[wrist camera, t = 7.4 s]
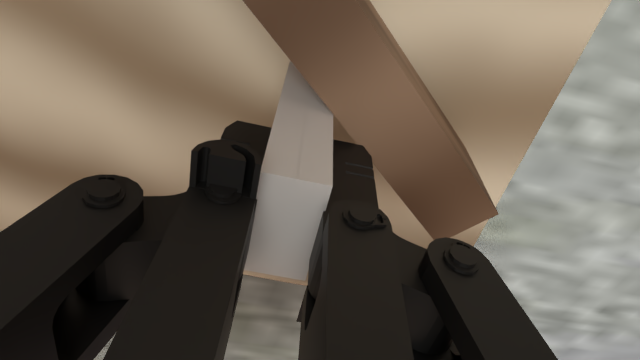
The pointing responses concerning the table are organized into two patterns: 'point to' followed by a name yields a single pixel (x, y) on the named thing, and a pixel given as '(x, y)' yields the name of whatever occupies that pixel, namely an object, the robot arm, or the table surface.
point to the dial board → (254, 87)
